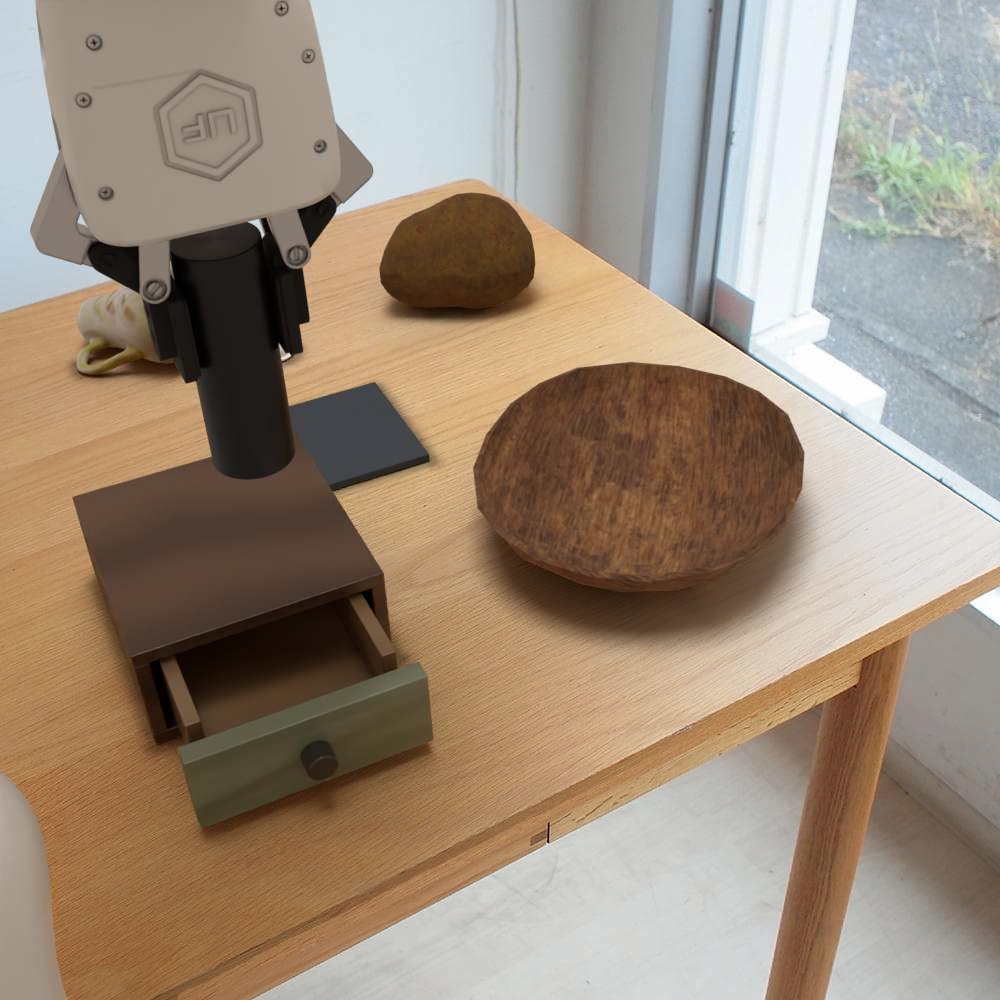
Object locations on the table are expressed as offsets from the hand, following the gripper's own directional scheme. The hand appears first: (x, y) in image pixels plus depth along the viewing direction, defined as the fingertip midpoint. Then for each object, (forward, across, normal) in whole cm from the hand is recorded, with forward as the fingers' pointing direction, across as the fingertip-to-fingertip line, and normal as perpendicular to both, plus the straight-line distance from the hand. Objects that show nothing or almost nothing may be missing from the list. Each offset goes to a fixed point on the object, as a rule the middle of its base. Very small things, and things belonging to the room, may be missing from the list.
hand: (235, 349), depth 57 cm
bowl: (+23, +24, +6) cm, 34 cm away
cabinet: (+23, -1, +8) cm, 25 cm away
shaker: (+6, 0, 0) cm, 6 cm away
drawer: (+22, -1, 0) cm, 22 cm away
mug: (+23, +1, +40) cm, 47 cm away
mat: (+23, +10, +22) cm, 34 cm away
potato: (+23, +26, +37) cm, 51 cm away
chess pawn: (+23, +10, +36) cm, 44 cm away
